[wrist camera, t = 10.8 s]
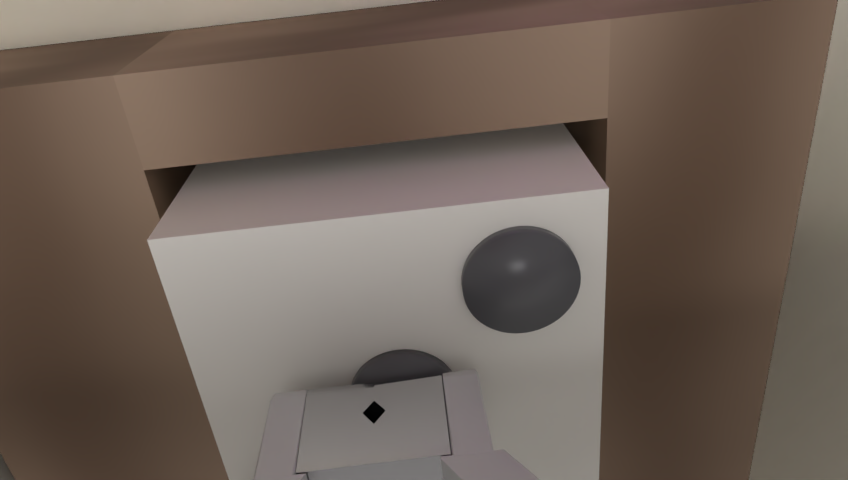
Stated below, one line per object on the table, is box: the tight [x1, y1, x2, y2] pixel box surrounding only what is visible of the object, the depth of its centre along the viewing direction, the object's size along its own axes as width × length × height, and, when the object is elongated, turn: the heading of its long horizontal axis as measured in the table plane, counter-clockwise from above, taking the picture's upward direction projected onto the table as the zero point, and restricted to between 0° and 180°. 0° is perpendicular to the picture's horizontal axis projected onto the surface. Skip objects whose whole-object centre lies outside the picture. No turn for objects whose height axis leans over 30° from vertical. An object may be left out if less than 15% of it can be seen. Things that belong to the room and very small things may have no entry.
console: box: [0, 0, 838, 480], centre depth 15 cm, size 24×18×3 cm
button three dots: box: [147, 123, 609, 480], centre depth 11 cm, size 6×6×3 cm
